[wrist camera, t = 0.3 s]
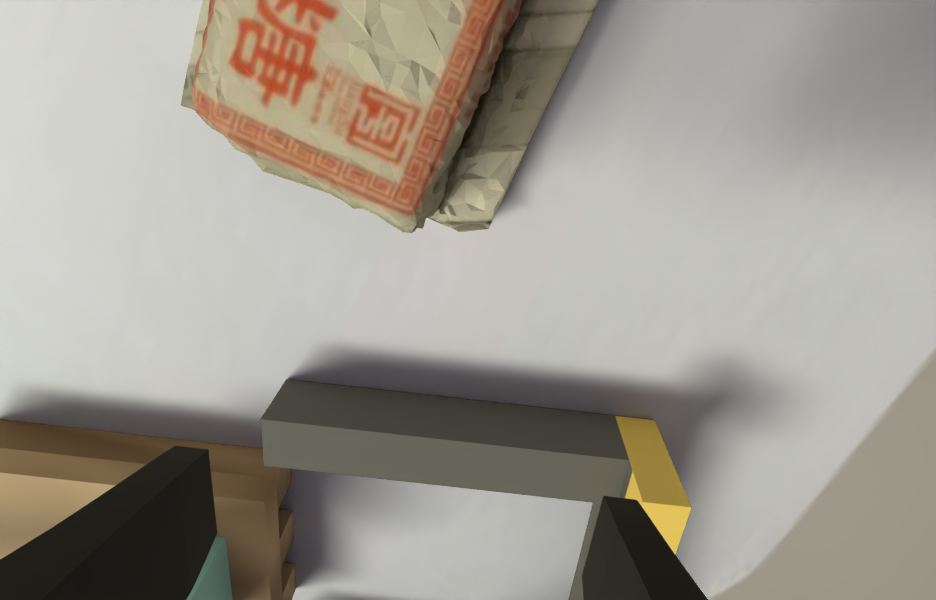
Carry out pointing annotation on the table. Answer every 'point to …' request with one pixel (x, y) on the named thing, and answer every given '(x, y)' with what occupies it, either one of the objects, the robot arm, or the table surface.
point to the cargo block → (214, 575)
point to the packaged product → (385, 95)
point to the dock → (477, 449)
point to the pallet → (120, 455)
